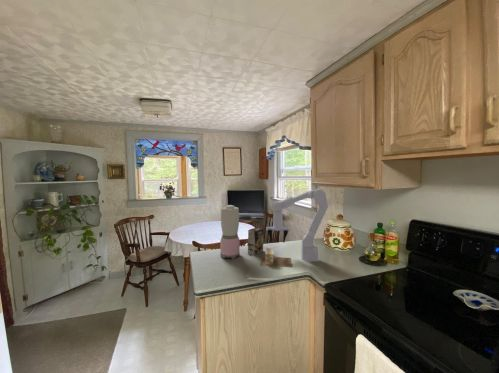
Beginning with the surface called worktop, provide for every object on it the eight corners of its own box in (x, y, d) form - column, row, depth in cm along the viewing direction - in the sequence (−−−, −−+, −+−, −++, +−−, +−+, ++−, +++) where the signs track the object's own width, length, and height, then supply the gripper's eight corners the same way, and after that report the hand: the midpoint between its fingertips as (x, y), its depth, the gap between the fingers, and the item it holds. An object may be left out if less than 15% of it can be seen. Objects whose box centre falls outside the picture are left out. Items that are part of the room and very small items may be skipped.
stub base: (290, 259, 135) (290, 253, 134) (292, 268, 122) (292, 261, 121) (261, 258, 136) (261, 251, 136) (260, 267, 124) (260, 260, 123)
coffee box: (255, 256, 139) (255, 231, 138) (247, 254, 143) (247, 229, 141) (263, 252, 146) (263, 228, 145) (255, 250, 150) (255, 226, 149)
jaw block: (273, 258, 134) (273, 248, 133) (273, 264, 125) (273, 254, 124) (265, 257, 134) (265, 248, 134) (265, 264, 125) (265, 253, 125)
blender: (237, 260, 133) (237, 207, 131) (218, 259, 135) (217, 207, 132) (241, 250, 149) (241, 203, 146) (223, 249, 150) (223, 203, 148)
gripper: (266, 221, 134) (265, 243, 135) (290, 222, 132) (289, 244, 133) (266, 219, 141) (266, 239, 142) (289, 219, 139) (288, 240, 140)
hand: (277, 241), depth 138 cm, fingers open, 7 cm apart
